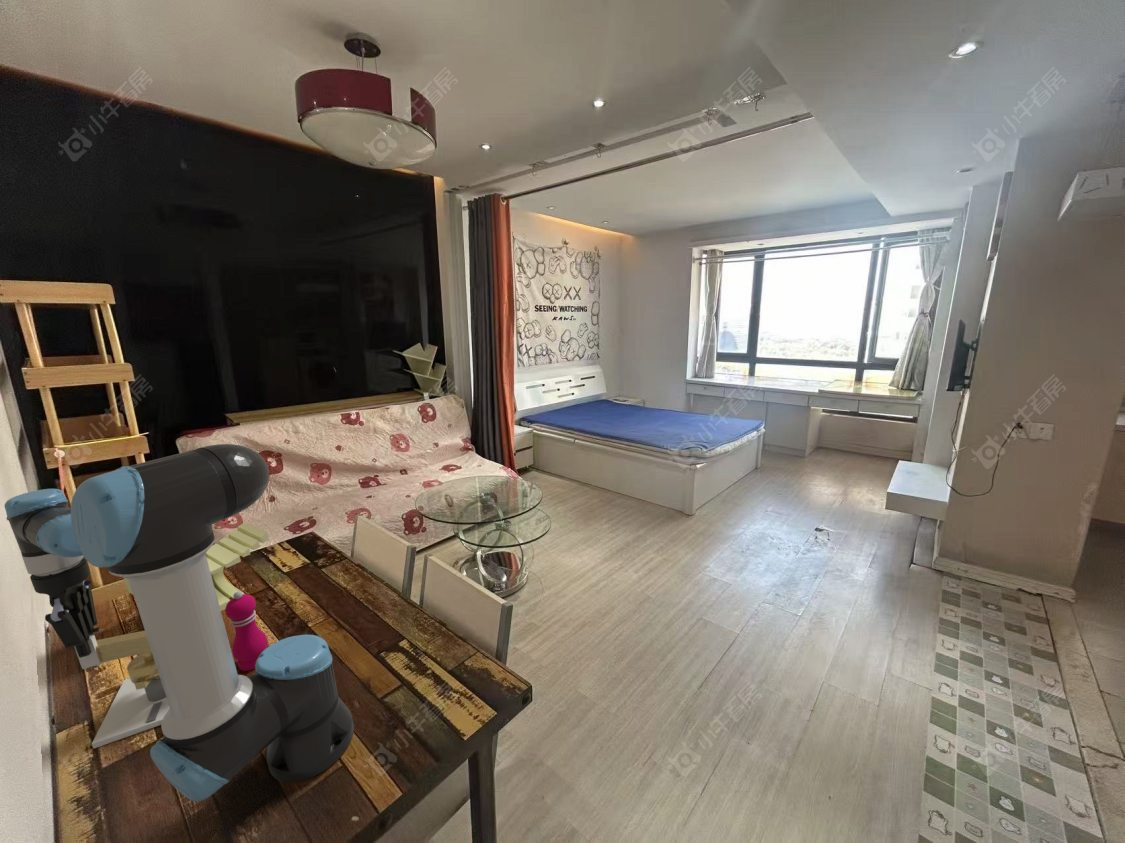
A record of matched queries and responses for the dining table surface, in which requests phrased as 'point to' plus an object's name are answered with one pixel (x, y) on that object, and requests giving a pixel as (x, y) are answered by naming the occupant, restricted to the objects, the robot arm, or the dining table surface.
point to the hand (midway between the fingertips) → (92, 664)
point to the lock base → (133, 712)
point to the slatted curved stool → (228, 558)
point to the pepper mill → (245, 631)
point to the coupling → (130, 645)
